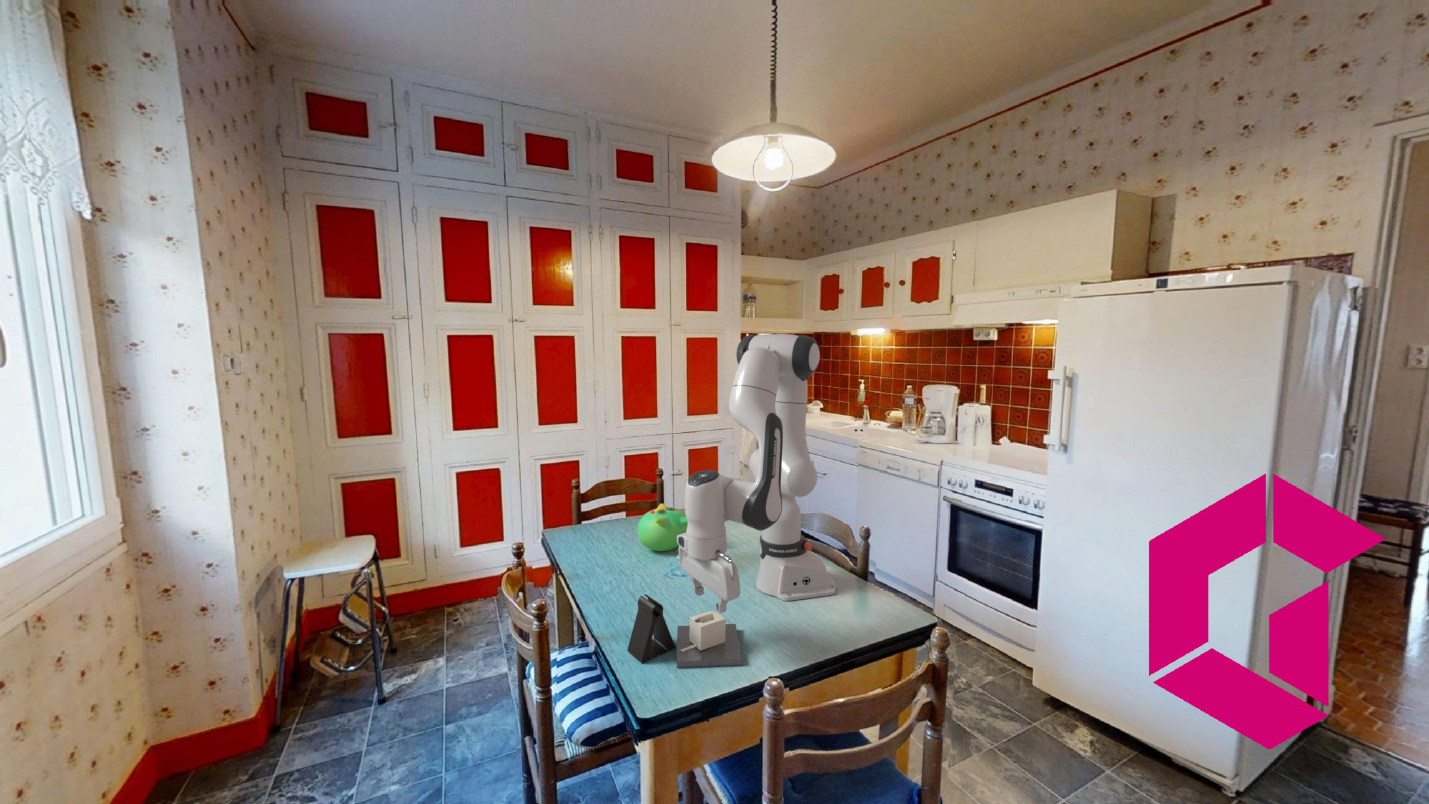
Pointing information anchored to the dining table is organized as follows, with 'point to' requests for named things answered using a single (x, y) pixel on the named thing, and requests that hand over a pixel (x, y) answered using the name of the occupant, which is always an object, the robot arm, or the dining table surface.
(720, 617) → the hollow rectangular block
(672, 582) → the dining table surface
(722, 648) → the grey square base
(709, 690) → the dining table surface
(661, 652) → the black a-frame stand
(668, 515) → the green bird toy
